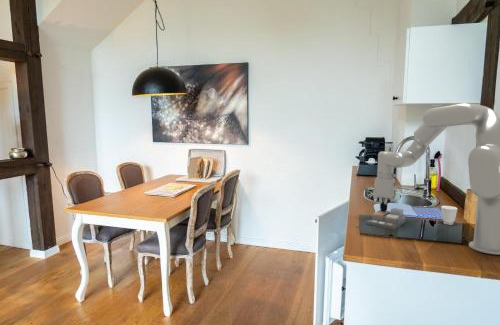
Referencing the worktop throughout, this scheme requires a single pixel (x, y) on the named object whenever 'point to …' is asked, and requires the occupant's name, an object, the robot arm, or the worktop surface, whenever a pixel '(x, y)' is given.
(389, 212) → the sage key
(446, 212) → the cup
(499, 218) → the robot arm
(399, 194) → the l-shaped corner panel
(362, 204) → the worktop surface
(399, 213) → the slate key
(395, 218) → the ivory key
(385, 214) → the terracotta key
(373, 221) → the keypad board
